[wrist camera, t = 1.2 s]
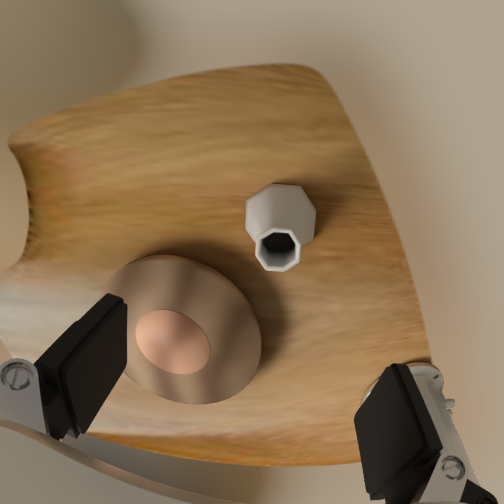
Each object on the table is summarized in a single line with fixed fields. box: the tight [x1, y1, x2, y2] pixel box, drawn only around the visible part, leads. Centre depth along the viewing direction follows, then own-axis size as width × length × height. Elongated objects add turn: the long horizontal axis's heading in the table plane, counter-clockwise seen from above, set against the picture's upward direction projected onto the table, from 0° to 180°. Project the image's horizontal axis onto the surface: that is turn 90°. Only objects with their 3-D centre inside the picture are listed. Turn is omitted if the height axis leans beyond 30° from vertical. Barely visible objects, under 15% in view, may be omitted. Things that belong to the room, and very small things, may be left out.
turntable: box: [98, 255, 262, 404], centre depth 33 cm, size 20×20×2 cm
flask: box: [245, 184, 316, 272], centre depth 25 cm, size 7×7×10 cm
